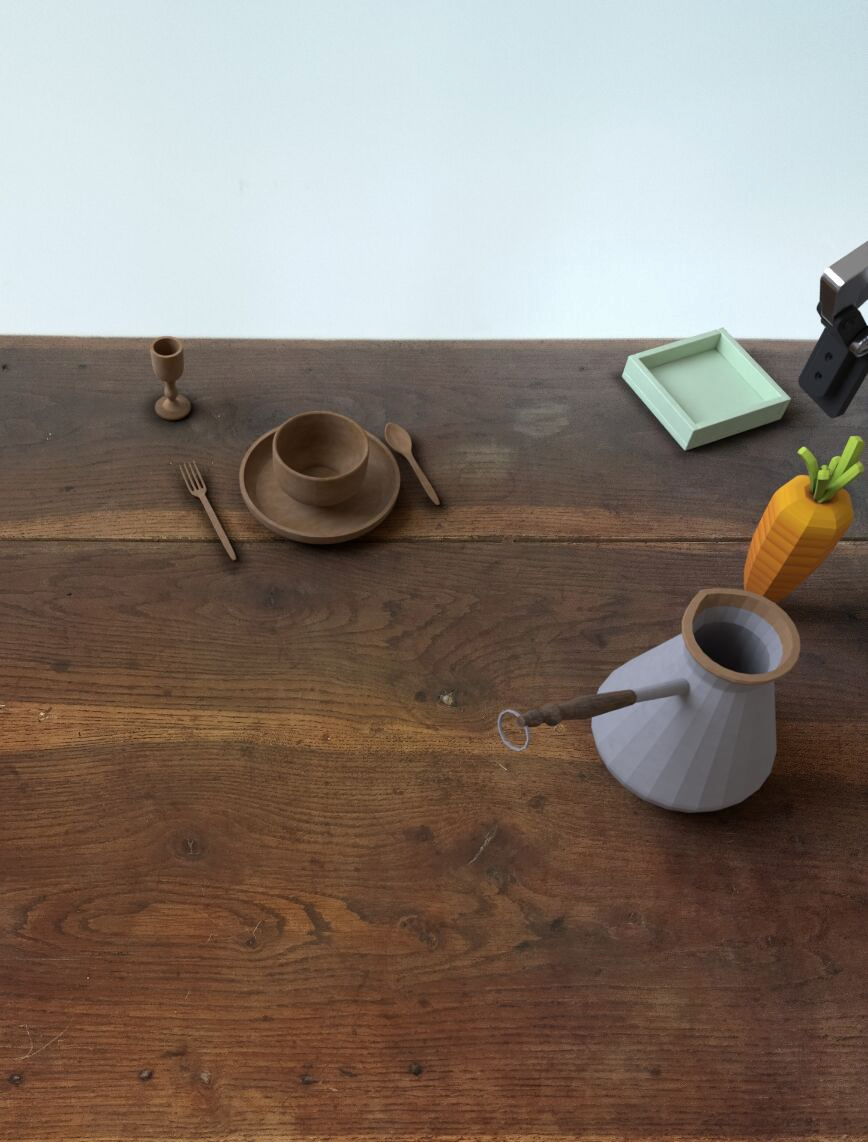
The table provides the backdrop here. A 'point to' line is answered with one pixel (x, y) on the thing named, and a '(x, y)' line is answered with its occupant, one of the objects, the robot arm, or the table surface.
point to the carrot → (802, 524)
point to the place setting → (303, 468)
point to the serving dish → (705, 388)
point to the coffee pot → (692, 705)
